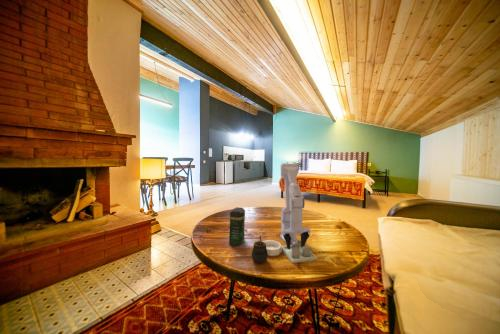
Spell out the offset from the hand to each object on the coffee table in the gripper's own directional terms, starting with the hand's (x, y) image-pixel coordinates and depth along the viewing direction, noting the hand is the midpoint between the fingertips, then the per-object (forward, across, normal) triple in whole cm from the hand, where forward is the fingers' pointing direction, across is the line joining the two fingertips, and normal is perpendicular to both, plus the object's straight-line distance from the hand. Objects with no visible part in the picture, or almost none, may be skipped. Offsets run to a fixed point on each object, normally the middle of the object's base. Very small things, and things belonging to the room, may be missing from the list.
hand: (295, 247), depth 92 cm
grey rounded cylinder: (+2, 0, 0) cm, 2 cm away
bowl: (+2, -12, +4) cm, 12 cm away
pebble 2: (+2, +3, -5) cm, 6 cm away
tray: (+2, 0, -2) cm, 3 cm away
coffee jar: (+2, -26, +17) cm, 32 cm away
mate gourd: (+2, -20, -3) cm, 20 cm away
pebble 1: (+2, -3, -5) cm, 6 cm away
